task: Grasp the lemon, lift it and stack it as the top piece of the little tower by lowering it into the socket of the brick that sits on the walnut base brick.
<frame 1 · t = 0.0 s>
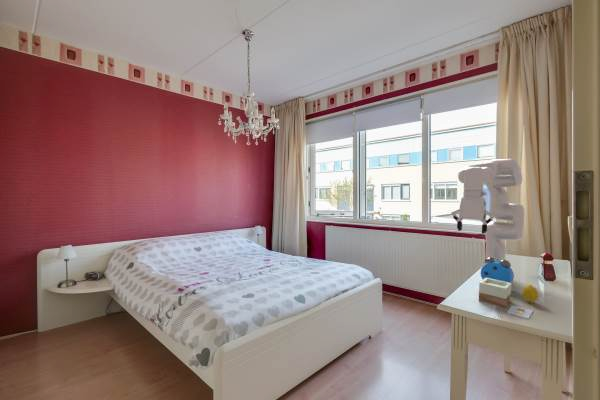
hand: (471, 231, 128), 31 cm above the table, fingers open, 9 cm apart
alarm clock: (496, 287, 144), on the table
instruction card: (520, 312, 116), on the table
base brick: (494, 301, 126), on the table
top brick: (494, 292, 126), point 4 cm above the table, touching base brick
lemon: (529, 303, 125), on the table
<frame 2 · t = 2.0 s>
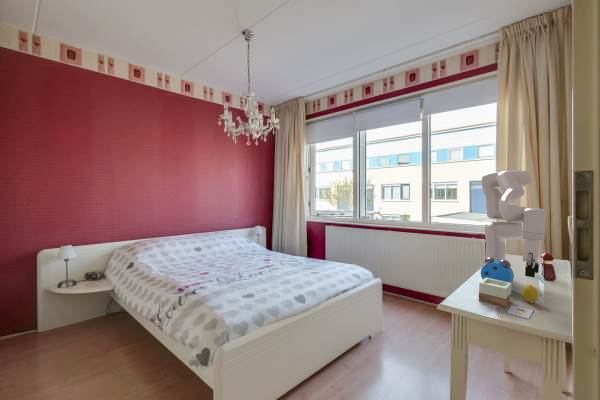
hand: (531, 274, 124), 13 cm above the table, fingers open, 9 cm apart
nothing on the table moved.
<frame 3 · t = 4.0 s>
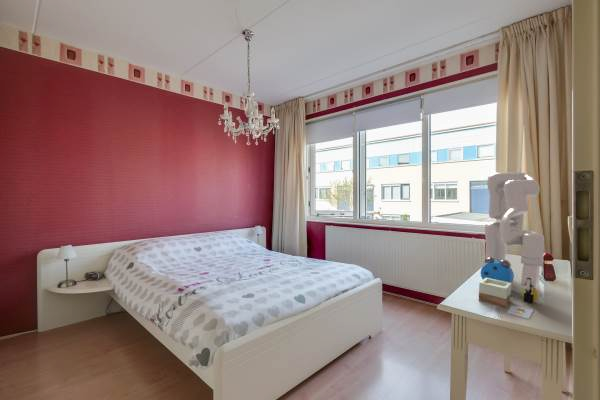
hand: (529, 300, 125), 1 cm above the table, fingers closed on lemon, 5 cm apart
lemon: (529, 302, 125), on the table, touching gripper
everything else where it was.
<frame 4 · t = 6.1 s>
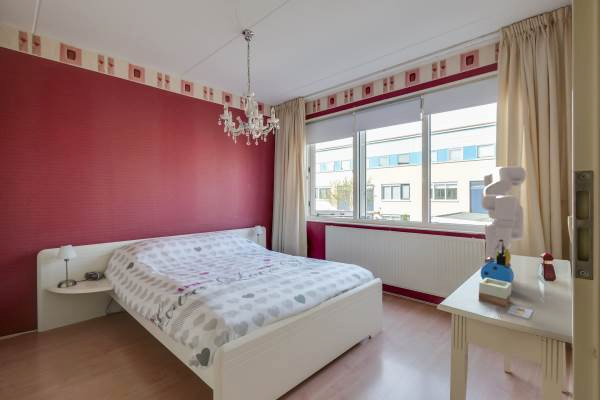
hand: (502, 263, 125), 18 cm above the table, fingers closed on lemon, 5 cm apart
lemon: (502, 266, 125), point 16 cm above the table, touching gripper
everything else where it was.
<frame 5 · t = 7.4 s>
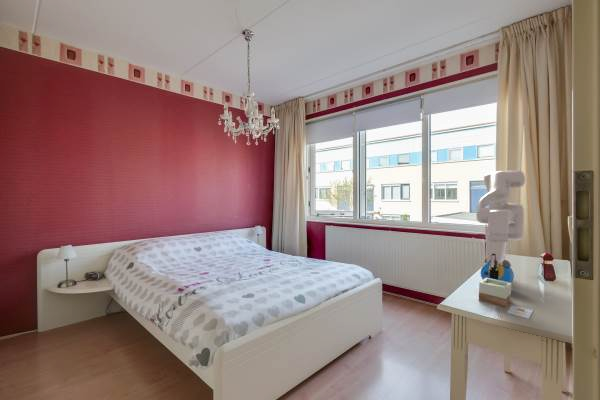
hand: (495, 276, 126), 11 cm above the table, fingers closed on lemon, 5 cm apart
lemon: (495, 279, 126), point 10 cm above the table, touching gripper
everything else where it was.
when the fingers open (9 cm above the table, at t = 8.6 s): lemon drops 1 cm, resting on top brick.
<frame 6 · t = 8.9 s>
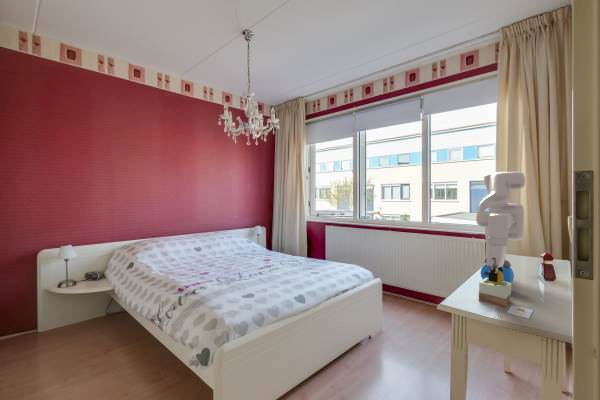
hand: (495, 279, 126), 10 cm above the table, fingers open, 8 cm apart
top brick: (494, 292, 126), point 4 cm above the table, touching base brick, lemon
lemon: (495, 286, 126), point 7 cm above the table, touching top brick
everything else where it was.
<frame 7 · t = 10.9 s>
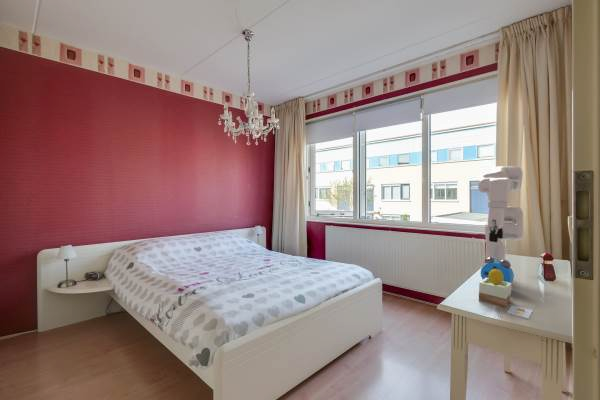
hand: (495, 239, 134), 26 cm above the table, fingers open, 9 cm apart
nothing on the table moved.
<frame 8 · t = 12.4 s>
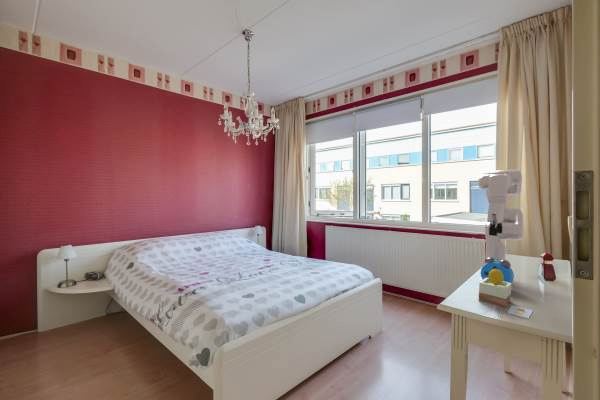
hand: (495, 234, 138), 28 cm above the table, fingers open, 9 cm apart
nothing on the table moved.
at the end: lemon inside the target area on the top brick (0.4 cm from its centre), point 2.8 cm above the top brick's base; top brick 0.0 cm from the target spot, point 4.0 cm above the table; the gripper is holding nothing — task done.
